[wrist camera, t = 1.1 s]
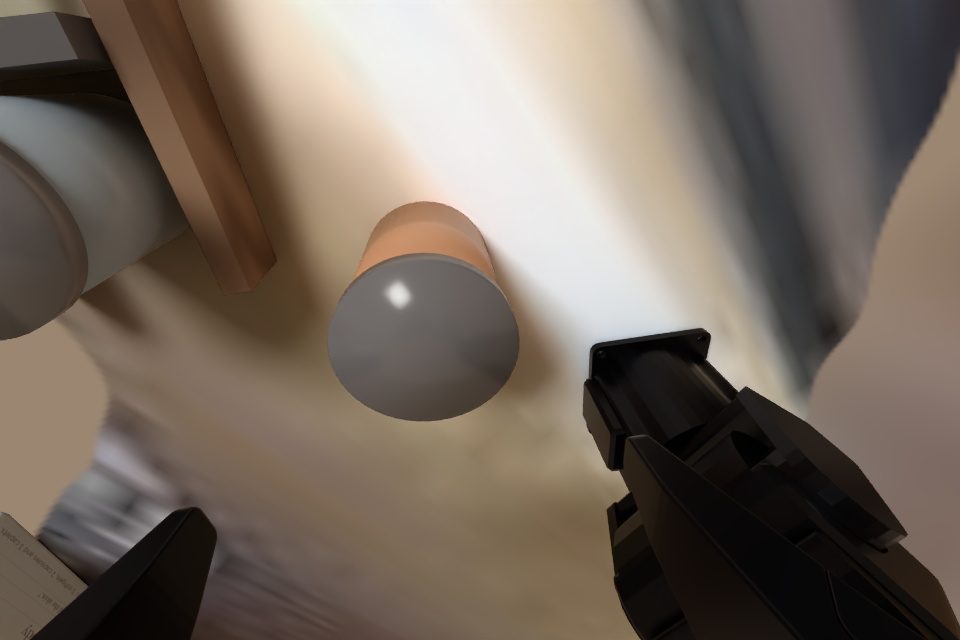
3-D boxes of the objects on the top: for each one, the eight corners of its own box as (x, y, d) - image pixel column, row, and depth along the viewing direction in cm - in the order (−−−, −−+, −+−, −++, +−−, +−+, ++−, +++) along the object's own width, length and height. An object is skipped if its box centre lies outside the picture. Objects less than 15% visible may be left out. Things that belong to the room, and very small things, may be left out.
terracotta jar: (484, 189, 17) (513, 250, 11) (495, 308, 20) (523, 407, 14) (347, 207, 17) (299, 278, 11) (378, 324, 20) (355, 432, 14)
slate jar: (158, 78, 14) (-52, 76, 8) (227, 237, 17) (113, 324, 11) (-14, 98, 14) (-366, 111, 8) (86, 255, 17) (-111, 355, 11)
